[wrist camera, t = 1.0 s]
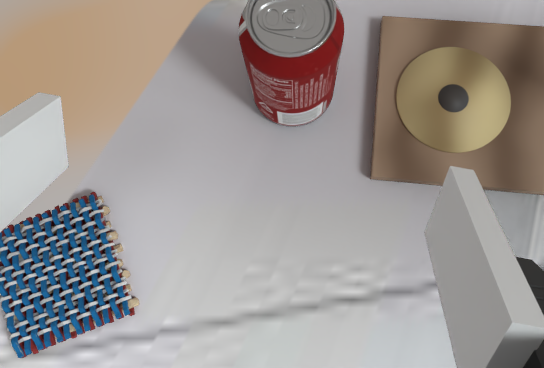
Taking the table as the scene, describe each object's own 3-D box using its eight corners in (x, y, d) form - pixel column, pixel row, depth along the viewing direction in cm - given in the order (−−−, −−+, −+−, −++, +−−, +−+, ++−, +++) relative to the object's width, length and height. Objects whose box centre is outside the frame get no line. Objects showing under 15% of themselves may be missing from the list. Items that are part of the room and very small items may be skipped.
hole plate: (647, 40, 39) (658, 32, 38) (656, 205, 36) (668, 202, 35) (380, 22, 41) (383, 14, 39) (370, 179, 38) (372, 175, 37)
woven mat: (107, 189, 40) (96, 184, 38) (145, 310, 37) (137, 312, 35) (-10, 235, 39) (-26, 232, 37) (22, 359, 37) (6, 364, 35)
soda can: (332, 130, 39) (346, 65, 27) (251, 128, 39) (231, 64, 28) (332, 55, 40) (347, -37, 29) (255, 54, 41) (237, -37, 29)
